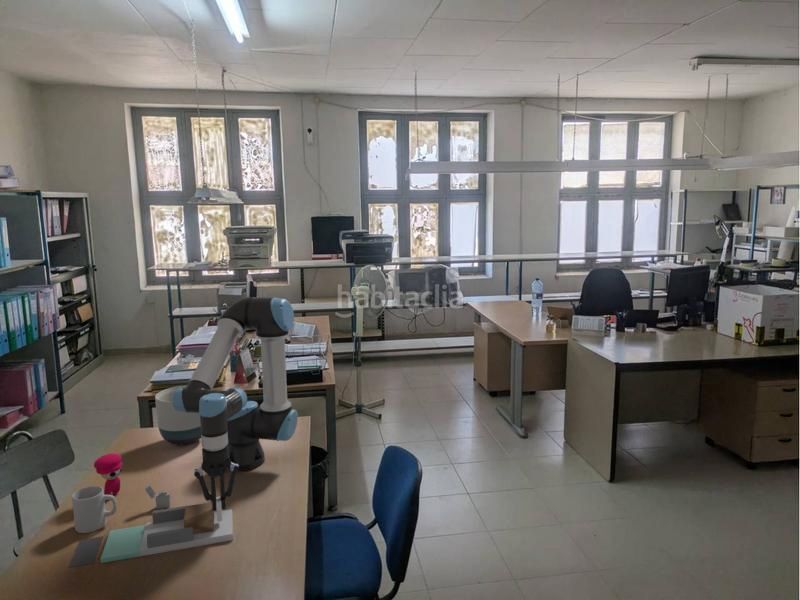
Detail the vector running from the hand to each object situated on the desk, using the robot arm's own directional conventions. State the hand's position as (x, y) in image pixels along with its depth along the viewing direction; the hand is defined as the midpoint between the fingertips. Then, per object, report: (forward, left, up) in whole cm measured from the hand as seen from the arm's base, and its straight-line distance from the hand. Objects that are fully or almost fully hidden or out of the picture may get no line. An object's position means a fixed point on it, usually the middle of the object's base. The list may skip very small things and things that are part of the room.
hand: (219, 518), depth 165 cm
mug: (+36, -14, -4) cm, 39 cm away
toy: (+35, -31, -4) cm, 47 cm away
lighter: (+19, -19, -4) cm, 28 cm away
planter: (+14, -70, -4) cm, 72 cm away
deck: (+9, 0, -4) cm, 10 cm away
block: (+6, 0, -2) cm, 6 cm away
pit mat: (+36, 0, -4) cm, 37 cm away
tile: (+26, 0, -4) cm, 27 cm away
